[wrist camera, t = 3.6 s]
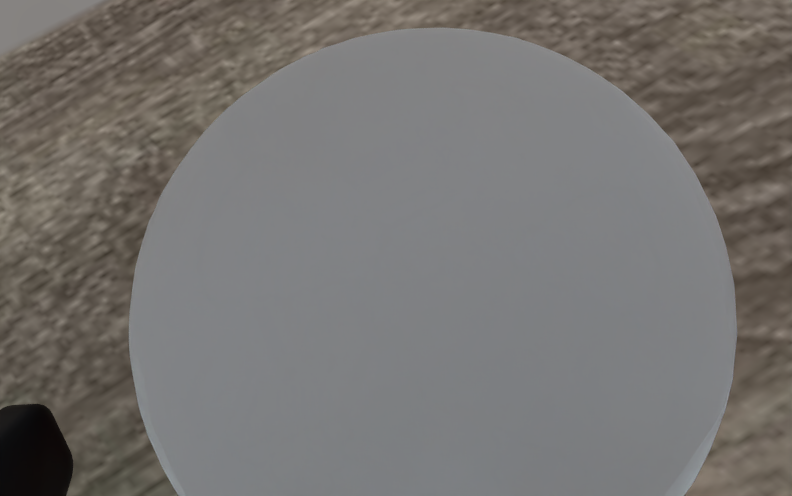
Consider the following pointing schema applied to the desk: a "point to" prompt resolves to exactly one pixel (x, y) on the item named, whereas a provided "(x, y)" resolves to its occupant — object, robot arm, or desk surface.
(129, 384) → the desk surface
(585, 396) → the pill bottle
